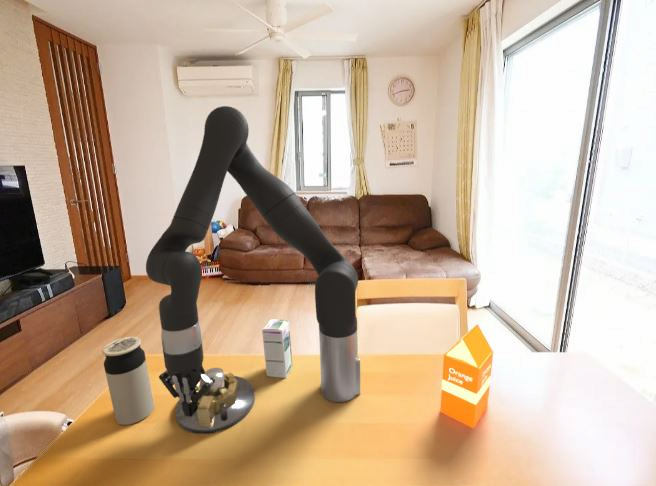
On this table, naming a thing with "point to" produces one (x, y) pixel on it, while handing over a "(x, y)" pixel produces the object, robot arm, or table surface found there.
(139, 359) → the travel mug
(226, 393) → the ring nut
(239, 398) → the cap plate
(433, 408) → the table surface
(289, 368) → the syrup box
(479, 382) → the orange juice
